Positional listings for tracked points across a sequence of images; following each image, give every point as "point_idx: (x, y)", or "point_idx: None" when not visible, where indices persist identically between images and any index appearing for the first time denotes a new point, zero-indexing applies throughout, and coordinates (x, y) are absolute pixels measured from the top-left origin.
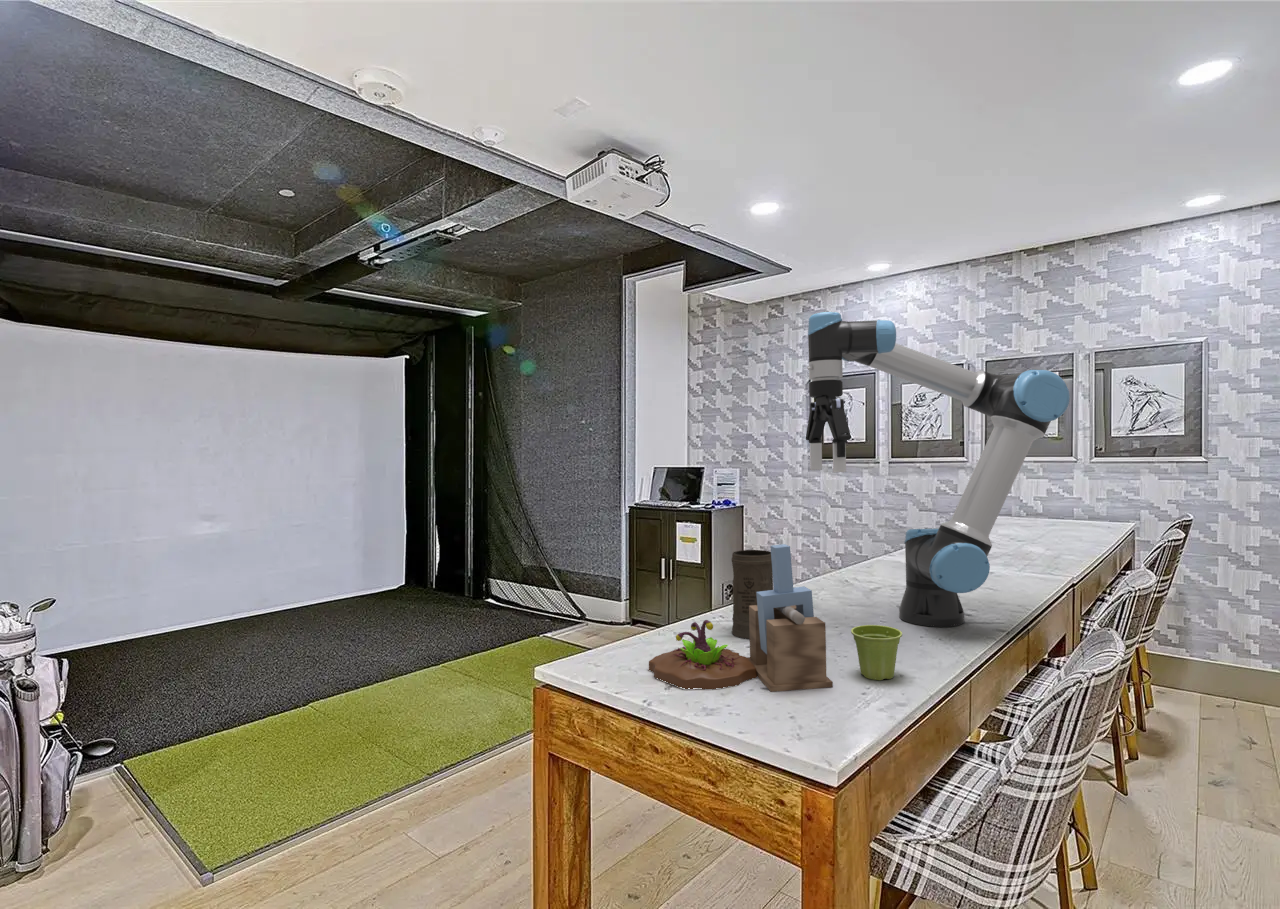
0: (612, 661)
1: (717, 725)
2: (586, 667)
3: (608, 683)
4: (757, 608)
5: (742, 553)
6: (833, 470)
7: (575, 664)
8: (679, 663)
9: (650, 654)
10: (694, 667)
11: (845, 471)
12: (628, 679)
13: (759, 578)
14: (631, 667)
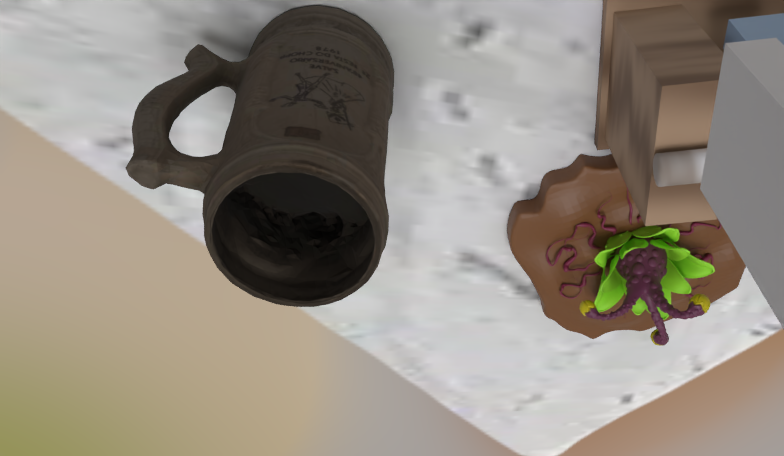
0: (515, 378)
1: None
2: (542, 411)
3: (644, 380)
4: (689, 209)
5: (225, 258)
6: (715, 201)
7: (519, 426)
8: (674, 302)
9: (482, 321)
10: (705, 277)
11: (777, 50)
12: (633, 354)
13: (383, 174)
14: (562, 351)
